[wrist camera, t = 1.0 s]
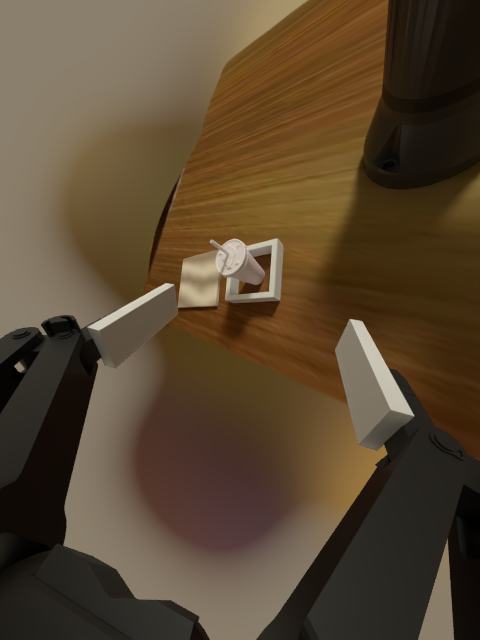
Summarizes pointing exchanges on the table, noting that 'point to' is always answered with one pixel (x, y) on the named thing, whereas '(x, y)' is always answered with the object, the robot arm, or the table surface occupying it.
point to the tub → (275, 275)
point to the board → (199, 281)
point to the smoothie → (237, 262)
